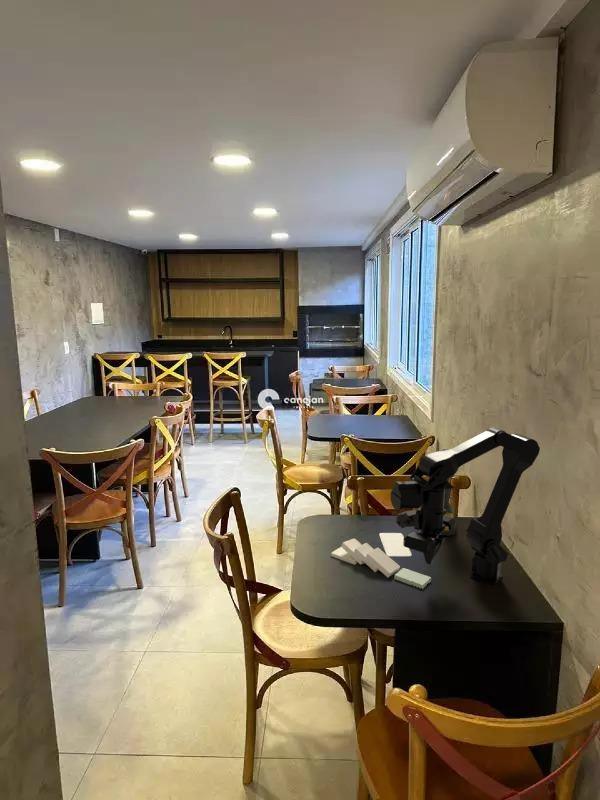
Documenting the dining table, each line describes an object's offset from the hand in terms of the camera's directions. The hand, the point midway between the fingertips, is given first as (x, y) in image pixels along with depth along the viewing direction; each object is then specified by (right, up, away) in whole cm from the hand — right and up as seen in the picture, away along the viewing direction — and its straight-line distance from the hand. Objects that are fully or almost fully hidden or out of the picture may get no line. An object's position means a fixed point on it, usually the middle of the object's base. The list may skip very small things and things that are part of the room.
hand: (428, 563), depth 136 cm
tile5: (-16, -3, +13) cm, 21 cm away
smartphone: (-4, -2, +24) cm, 24 cm away
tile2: (-8, -4, +6) cm, 11 cm away
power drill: (+12, 0, +34) cm, 36 cm away
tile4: (-14, -3, +12) cm, 19 cm away
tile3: (-11, -4, +9) cm, 14 cm away
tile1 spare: (0, -6, +1) cm, 6 cm away
